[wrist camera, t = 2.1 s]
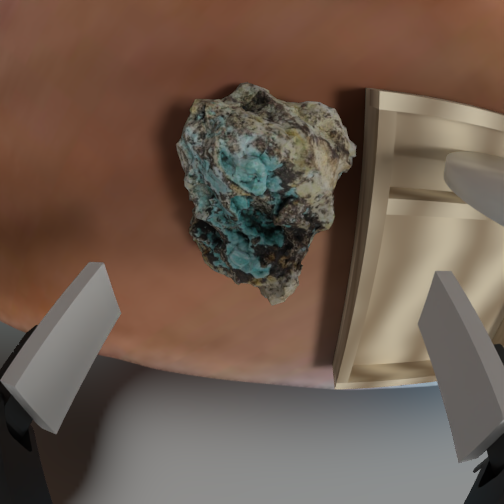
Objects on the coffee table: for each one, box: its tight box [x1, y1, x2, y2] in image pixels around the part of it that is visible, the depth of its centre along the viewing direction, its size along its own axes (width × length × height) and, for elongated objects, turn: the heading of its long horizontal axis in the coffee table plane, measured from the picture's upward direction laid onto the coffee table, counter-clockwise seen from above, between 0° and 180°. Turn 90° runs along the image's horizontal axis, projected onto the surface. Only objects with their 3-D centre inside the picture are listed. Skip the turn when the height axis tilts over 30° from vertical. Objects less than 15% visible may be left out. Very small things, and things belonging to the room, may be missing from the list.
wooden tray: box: [332, 88, 504, 389], centre depth 21 cm, size 18×24×3 cm
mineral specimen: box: [176, 82, 356, 305], centre depth 18 cm, size 12×9×8 cm
